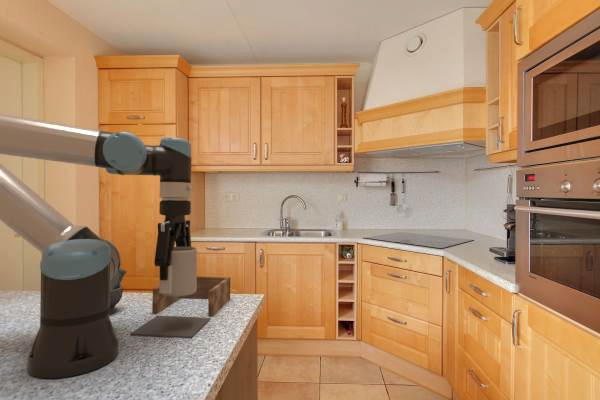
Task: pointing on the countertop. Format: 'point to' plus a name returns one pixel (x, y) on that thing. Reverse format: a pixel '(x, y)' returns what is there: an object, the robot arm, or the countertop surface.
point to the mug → (183, 271)
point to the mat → (171, 326)
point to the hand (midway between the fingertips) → (174, 287)
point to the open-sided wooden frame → (198, 294)
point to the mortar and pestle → (116, 290)
